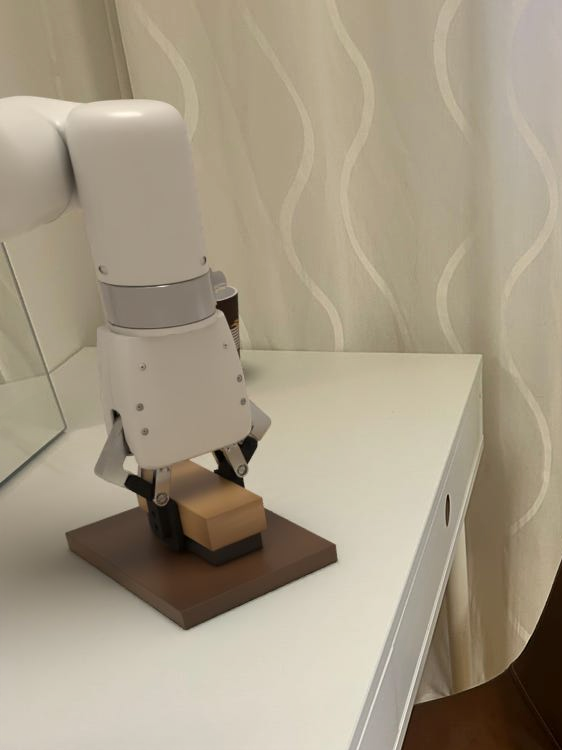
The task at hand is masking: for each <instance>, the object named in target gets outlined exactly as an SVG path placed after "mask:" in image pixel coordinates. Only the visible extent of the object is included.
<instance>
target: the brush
mask: <svg viewBox="0 0 562 750" xmlns="http://www.w3.org/2000/svg"><path fill="white" fill-rule="evenodd" d="M136 475H137V476H138V474H136ZM135 494H136V493H135ZM136 499H137V503H138V506H139V507H140V508H141V509H143V510H145V511H146V512H147V515H148V520H149V524H150V526H151V527H152V524H151V520H150V515H149V511H148V507H147V502H146V499H145V498H143V497H142V496H140V495H138V494H136ZM170 500H172V501H174V502H176V503H177V505H178V509H179V514H180V519H181V524H182V529H183V533H184V536H185V541H186V546H185V548H187V549H189V550H190V551H192V552H193V553H195V554H197V555H198V556H200V557H202V558H203V559H205V560H206V561H208V562H210V563H211V564H213V565H214V566H218V565H220V564H223V563H225V562H227V561H230V560H232V559H235V558H237V557H240V556H242V555H244V554H247V553H249V552H252V551H254V550H256V549H259V548H261V547H263V543H262V537H261V532H262V531H265V530H267V525H266V518H265V512H264V508H265V505H264V499H263V496H260V495H259V494H256V493H254V492H253V491H251V490H249V489H247V488H246V487H245V488H243V487H241V486H239V485H237V484H235V483H233V482H231V481H229V480H227V479H225V478H224V477H222V476H220V475H218V474H216V473H214V471H213V470H210V469H208V468H206V467H204V466H202V465H201V464H198V463H196V462H194V461H192V460H191V459H189V460H186V461H183V462H180V463H177V464H174V465H172V469H171V483H170Z"/></svg>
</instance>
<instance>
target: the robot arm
mask: <svg viewBox="0 0 562 750" xmlns="http://www.w3.org/2000/svg"><path fill="white" fill-rule="evenodd" d="M78 213H82V217H83V220H84V224H85V229H86V233H87V237H88V242H89V247H90V251H91V255H92V259H93V264H94V268H95V273H96V276H97V282H98V288H99V291H100V296H101V300H102V305H103V309H104V314H105V318H106V324H103V325H102V324H101V325H100V326H98V327H97V328H96V361H97V374H98V384H99V392H100V401H101V407H102V412H103V418H104V423H105V429H106V434H107V439H106V441H105V443H104V445H103V448H102V449H101V452H100V454H99V457H98V459H97V461H96V463H95V466H94V468H93V473H94V475H95V476H97V477H98V478H100V479H102V480H103V481H105V482H106V483H107V482H108V483H109V484H112V485H115V486H118V487H120V488H123V489H126V490H129V491H130V492H132V493H134V494H138V495H140V496H142V497H143V498H145V499H146V502H147V507H148V511H149V515H150V520H151V524H152V529H153V532H154V534H155V536H156V537H157V538H158V539H160V540H162V541H164V542H165V543H167V544H168V545H170V546H172V547H173V548H175V549H176V550H181V549H183V548H185V546H186V541H185V536H184V533H183V529H182V524H181V519H180V514H179V509H178V505H177V503H176V502H174V501H172V500H170V483H171V469H172V465H174V464H177V463H180V462H183V461H186V460H191V459H195V458H197V457H201V456H203V455H206V454H209V453H211V455H212V457H213V458H214V461H215V463H216V465H217V468H216V469H213V472H214V473H216V474H218V475H220V476H222V477H224V478H225V479H227V480H229V481H231V482H233V483H235V484H237V485H239V486H241V487H243V488H245V489H246V485H245V482H244V481H245V479H244V478H245V477H247V475H248V474H249V470H250V469H249V463H250V462H251V460H252V458H253V456H254V455H255V453H256V452H257V449H258V446H259V442H260V441H262V439H263V437H265V435H266V433H267V432H268V430H269V429H270V428H271V425H272V418H271V417H269V416H268V414H266V413H265V412H264V411H263V410H262V409H261V408H260V407H259V406H258V405H256V404H255V402H253V401H252V400H251V399H250V397H249V393H248V387H247V383H246V379H245V375H244V370H243V365H242V363H241V357H240V358H239V355H238V352H237V348H236V345H235V342H234V339H233V336H232V333H231V331H230V328H229V326H228V323H227V320H226V318H225V316H224V313H223V312H222V311H220V310H218V309H216V306H215V305H217V301H216V295H215V293H217V292H218V291H220V290H224V289H226V286H227V278H226V276H225V274H224V272H223V271H222V270H216V271H213V270H212V267H210V265H209V259H208V252H207V247H206V246H207V245H206V241H205V240H206V239H205V235H204V227H203V219H202V215H201V208H200V201H199V195H198V190H197V183H196V178H195V171H194V165H193V159H192V153H191V145H190V141H189V135H188V131H187V126H186V123H185V120H184V118H183V116H182V114H181V112H180V111H179V110H178V109H177V108H176V107H174V106H173V105H172V104H170V103H168V102H165V101H162V100H155V99H143V98H141V99H140V98H139V99H137V98H133V99H131V98H130V99H109V100H107V99H106V100H98V101H97V100H96V101H91V102H86V103H85V102H76V101H68V100H64V99H63V100H62V99H55V98H49V97H44V96H43V97H42V96H34V95H14V96H7V97H2V98H0V244H1V243H6V242H9V241H12V240H14V239H18V238H19V237H21V236H23V235H26V234H28V233H30V232H32V231H34V230H36V229H38V228H40V227H42V226H45V225H47V224H50V223H52V222H55V221H58V220H61V219H63V218H66V217H68V216H71V215H73V214H78ZM132 456H134V460H135V462H136V464H137V474H135V473H133V472H132V471H131V470H126V469H125V468H124V462H125V461H126V459H127V457H132ZM137 475H138V476H137Z"/></svg>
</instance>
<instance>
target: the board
mask: <svg viewBox="0 0 562 750" xmlns="http://www.w3.org/2000/svg"><path fill="white" fill-rule="evenodd" d="M264 512H265V518H266V525H267V530H265V531H262V532H261V537H262V543H263V547H261V548H259V549H256V550H254V551H252V552H249V553H247V554H244V555H242V556H240V557H237V558H235V559H232V560H230V561H227V562H225V563H223V564H220V565H218V566H214V565H213V564H211V563H210V562H208V561H206V560H205V559H203V558H202V557H200V556H198V555H197V554H195V553H193V552H192V551H190V550H189V549H187V548H183V549H181V550H176V549H175V548H173V547H172V546H170V545H168V544H167V543H165V542H164V541H162V540H160V539H158V538H157V537H156V536H155V534H154V532H153V529H152V527H151V526H150V524H149V520H148V515H147V512H146V511H145V510H143V509H141V508H140V507H139V505H138V506H135V507H132V508H130V509H128V510H125V511H122V512H119V513H116V514H113V515H111V516H108V517H104V518H102V519H99V520H97V521H94V522H91V523H88V524H86V525H83V526H79V527H77V528H74V529H71V530H69V531H66V532H65V533H64V535H65V538H66V542H67V545H68V548H69V549H70V550H71V551H72V552H74V553H75V554H77V555H78V556H79V557H81V558H83V559H84V560H85V561H87V562H88V563H90V564H91V565H92V566H94V567H96V568H97V569H98V570H100V571H101V572H102V573H104V574H105V575H106V576H108V577H109V578H111V579H113V580H114V581H115V582H117V583H118V584H120V585H121V586H122V587H124V588H126V590H129V591H130V592H131V593H132V594H134V595H135V596H137V597H138V598H139V599H141V600H142V601H144V602H146V603H147V604H148V605H150V606H151V607H153V608H154V609H155V610H157V611H158V612H160V613H161V614H163V615H164V616H165V617H167V618H168V619H170V620H171V621H173V622H174V623H175V624H177V625H179V626H180V627H181V628H183V629H184V630H188V629H189V628H192V627H195V626H197V625H199V624H201V623H203V622H205V621H208V620H209V619H212V618H214V617H216V616H219V615H221V614H222V613H225V612H227V611H229V610H231V609H234V608H236V607H238V606H240V605H243V604H245V603H247V602H249V601H251V600H253V599H257V598H258V597H261V596H263V595H265V594H267V593H269V592H271V591H273V590H275V589H278V588H280V587H282V586H284V585H287V584H289V583H291V582H293V581H295V580H298V579H300V578H302V577H304V576H307V575H309V574H310V573H313V572H315V571H318V570H319V569H322V568H324V567H326V566H328V565H330V564H333V563H335V562H337V561H338V551H337V544H336V543H334V542H333V541H331V540H328V539H326V538H324V537H322V536H321V535H319V534H316V533H314V532H313V531H310V530H309V529H307V528H305V527H304V526H301V525H299V524H297V523H295V522H294V521H291V520H289V519H287V518H285V517H284V516H281V515H280V514H278V513H276V512H274V511H273V510H270V509H268V508H266V507H264Z"/></svg>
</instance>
